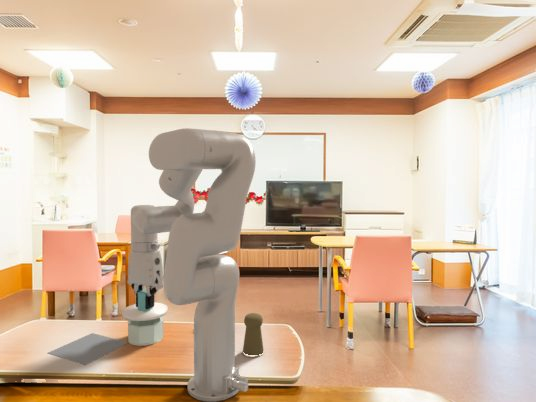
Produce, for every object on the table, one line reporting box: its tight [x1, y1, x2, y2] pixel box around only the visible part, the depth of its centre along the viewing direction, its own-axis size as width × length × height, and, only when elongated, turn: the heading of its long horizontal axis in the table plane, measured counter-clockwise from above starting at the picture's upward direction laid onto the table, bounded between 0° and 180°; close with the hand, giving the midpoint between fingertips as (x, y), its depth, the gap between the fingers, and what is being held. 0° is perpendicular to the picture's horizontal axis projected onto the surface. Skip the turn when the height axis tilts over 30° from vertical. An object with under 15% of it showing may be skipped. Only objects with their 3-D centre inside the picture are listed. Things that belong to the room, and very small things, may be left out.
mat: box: [47, 332, 130, 366], centre depth 112 cm, size 15×15×1 cm
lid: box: [121, 289, 168, 321], centre depth 118 cm, size 13×13×6 cm
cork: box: [242, 312, 265, 355], centre depth 110 cm, size 6×6×11 cm
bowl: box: [127, 316, 165, 347], centre depth 118 cm, size 10×10×6 cm
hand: (145, 306), depth 118 cm, fingers closed on lid, 3 cm apart
